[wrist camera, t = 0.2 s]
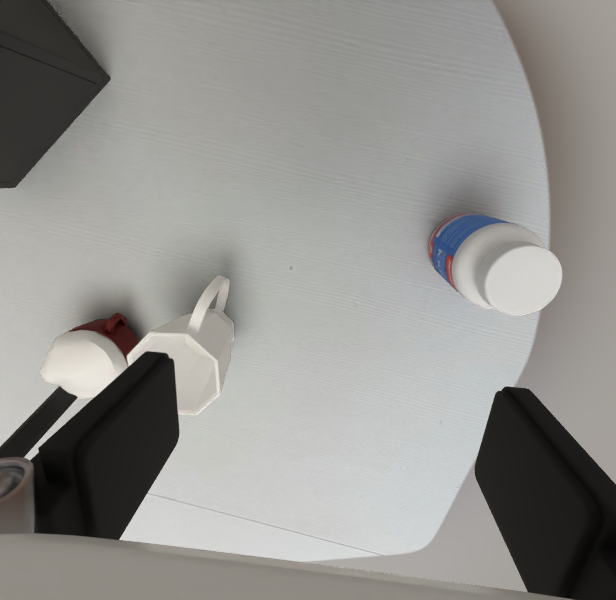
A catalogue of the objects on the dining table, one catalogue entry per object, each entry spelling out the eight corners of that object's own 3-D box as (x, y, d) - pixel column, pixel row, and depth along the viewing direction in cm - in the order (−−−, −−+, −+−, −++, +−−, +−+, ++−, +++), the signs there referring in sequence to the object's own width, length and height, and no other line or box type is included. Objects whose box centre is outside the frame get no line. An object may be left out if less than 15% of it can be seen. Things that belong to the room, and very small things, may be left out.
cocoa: (126, 292, 32) (9, 355, 20) (172, 344, 33) (86, 431, 22) (59, 343, 34) (-79, 426, 23) (105, 390, 35) (-4, 490, 24)
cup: (166, 345, 33) (115, 395, 26) (196, 249, 30) (148, 274, 22) (235, 374, 34) (205, 431, 26) (273, 282, 30) (251, 317, 23)
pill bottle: (413, 242, 28) (449, 273, 19) (471, 196, 27) (542, 206, 18) (452, 292, 29) (505, 345, 20) (511, 251, 28) (596, 287, 19)
